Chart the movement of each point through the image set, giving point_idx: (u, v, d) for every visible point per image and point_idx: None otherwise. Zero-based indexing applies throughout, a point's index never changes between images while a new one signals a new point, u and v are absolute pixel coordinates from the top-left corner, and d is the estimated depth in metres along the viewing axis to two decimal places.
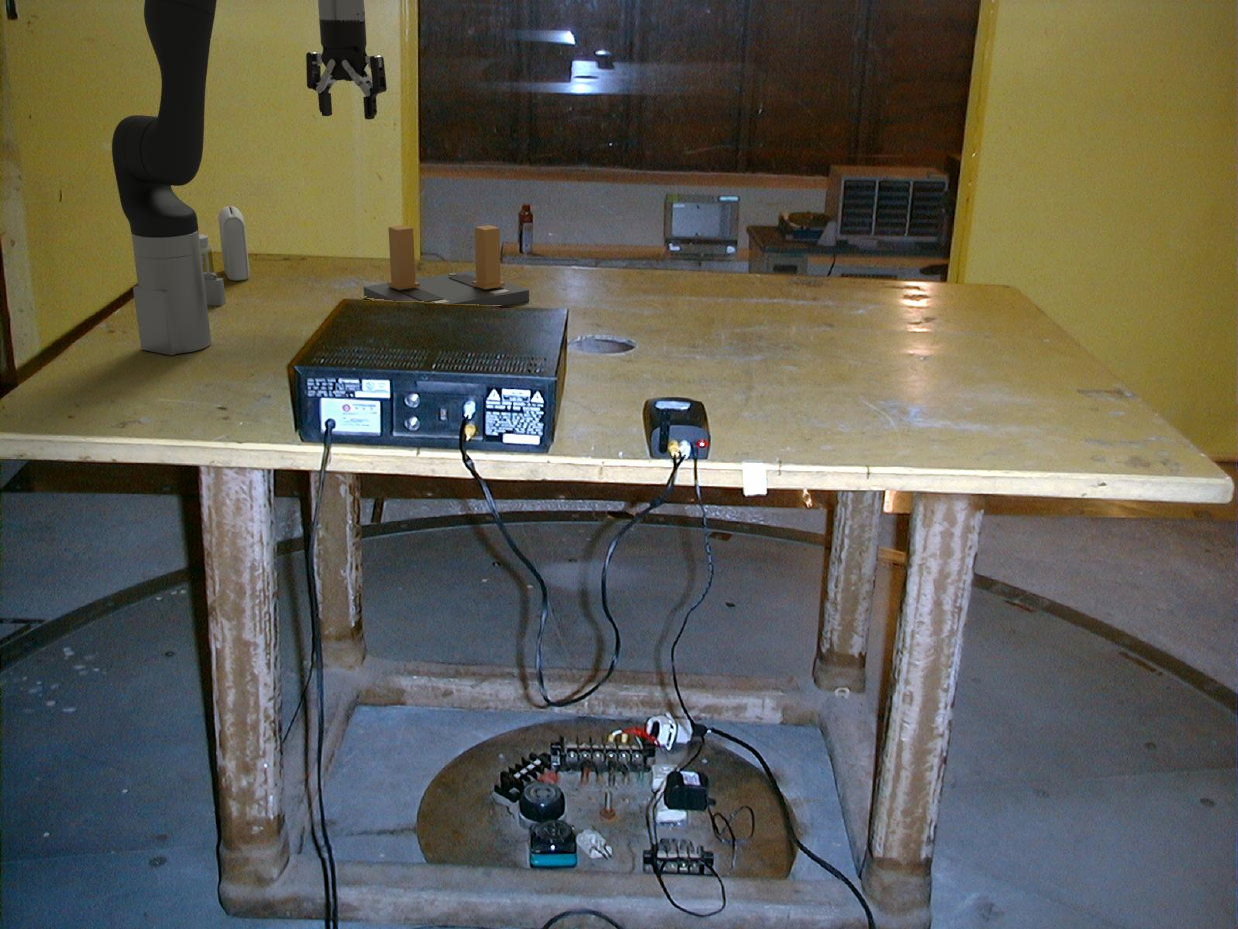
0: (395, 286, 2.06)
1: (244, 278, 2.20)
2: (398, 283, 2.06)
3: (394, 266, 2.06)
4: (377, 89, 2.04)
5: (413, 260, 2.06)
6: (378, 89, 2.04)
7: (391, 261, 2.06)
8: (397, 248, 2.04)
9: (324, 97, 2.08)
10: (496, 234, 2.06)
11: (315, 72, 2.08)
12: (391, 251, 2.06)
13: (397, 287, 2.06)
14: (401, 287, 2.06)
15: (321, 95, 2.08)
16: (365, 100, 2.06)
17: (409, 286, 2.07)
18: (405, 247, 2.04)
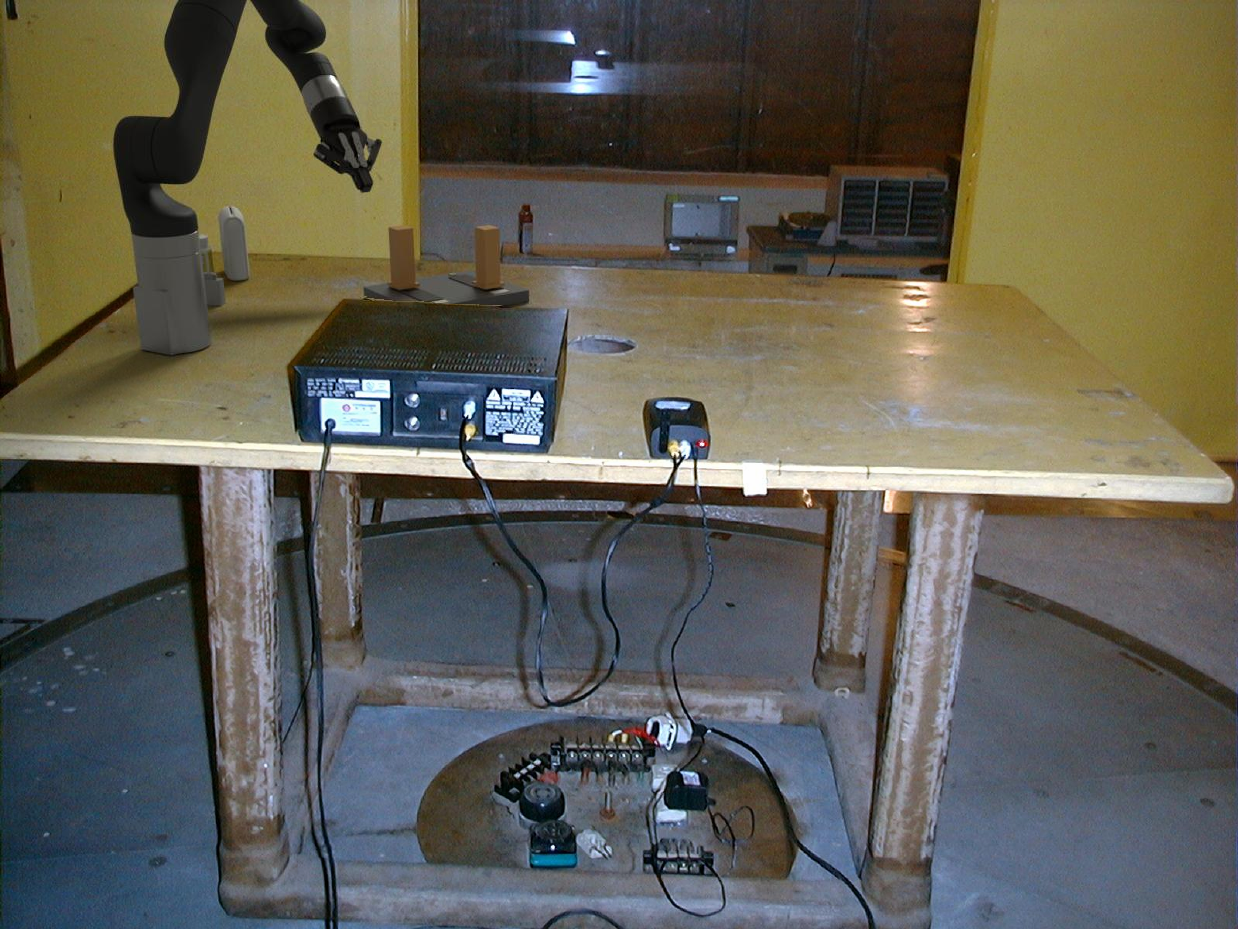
0: (395, 286, 2.06)
1: (244, 278, 2.20)
2: (398, 283, 2.06)
3: (394, 266, 2.06)
4: (373, 160, 2.13)
5: (413, 260, 2.06)
6: (374, 161, 2.13)
7: (391, 261, 2.06)
8: (397, 248, 2.04)
9: None
10: (496, 234, 2.06)
11: None
12: (391, 251, 2.06)
13: (397, 287, 2.06)
14: (401, 287, 2.06)
15: (359, 169, 2.11)
16: (364, 170, 2.11)
17: (409, 286, 2.07)
18: (405, 247, 2.04)
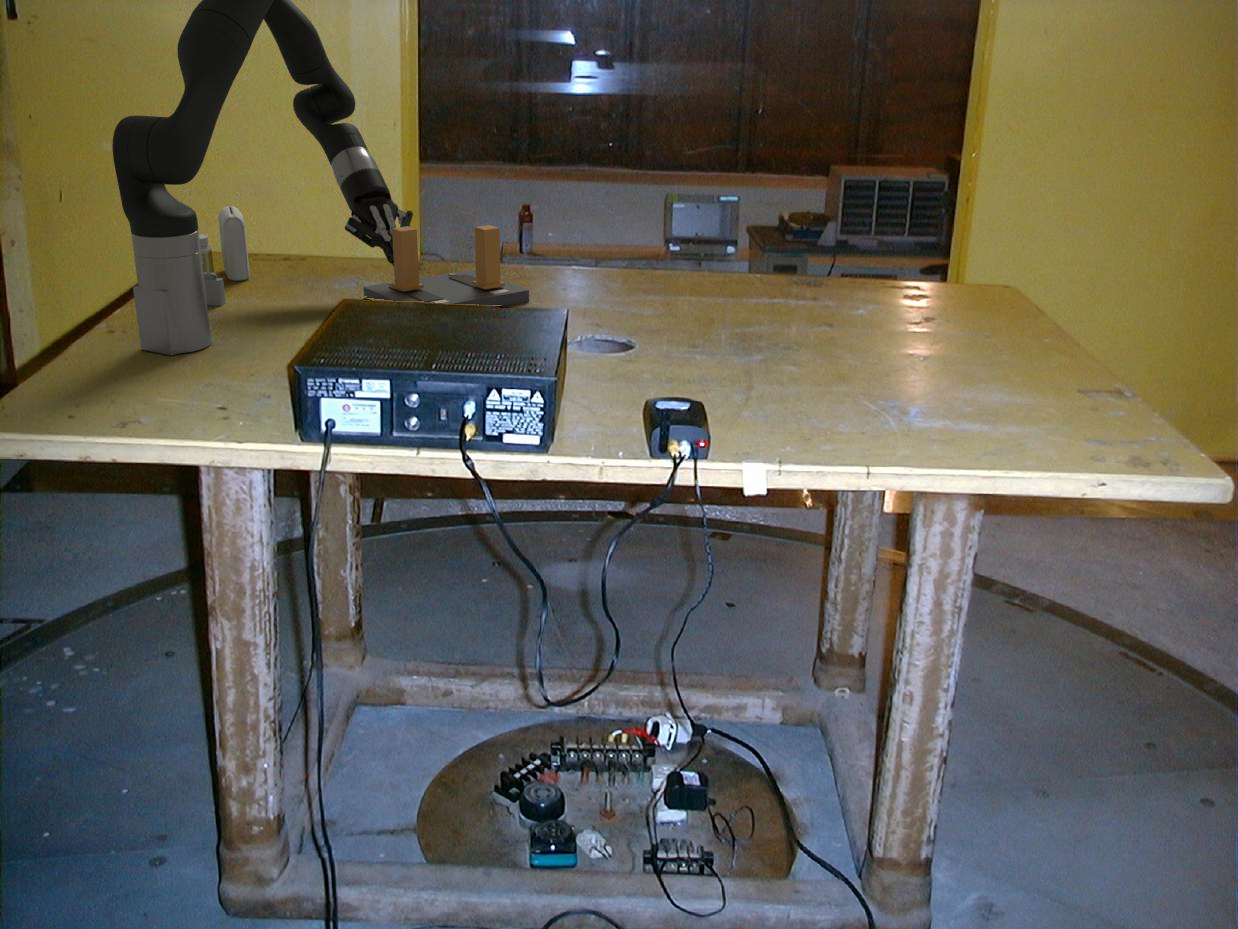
0: (399, 287, 2.05)
1: (244, 278, 2.20)
2: (402, 284, 2.05)
3: (398, 267, 2.05)
4: None
5: (417, 261, 2.05)
6: None
7: (395, 262, 2.06)
8: (401, 249, 2.03)
9: None
10: (496, 234, 2.06)
11: None
12: (395, 252, 2.05)
13: (401, 288, 2.05)
14: (405, 288, 2.05)
15: (391, 243, 2.07)
16: None
17: (413, 287, 2.06)
18: (409, 248, 2.04)
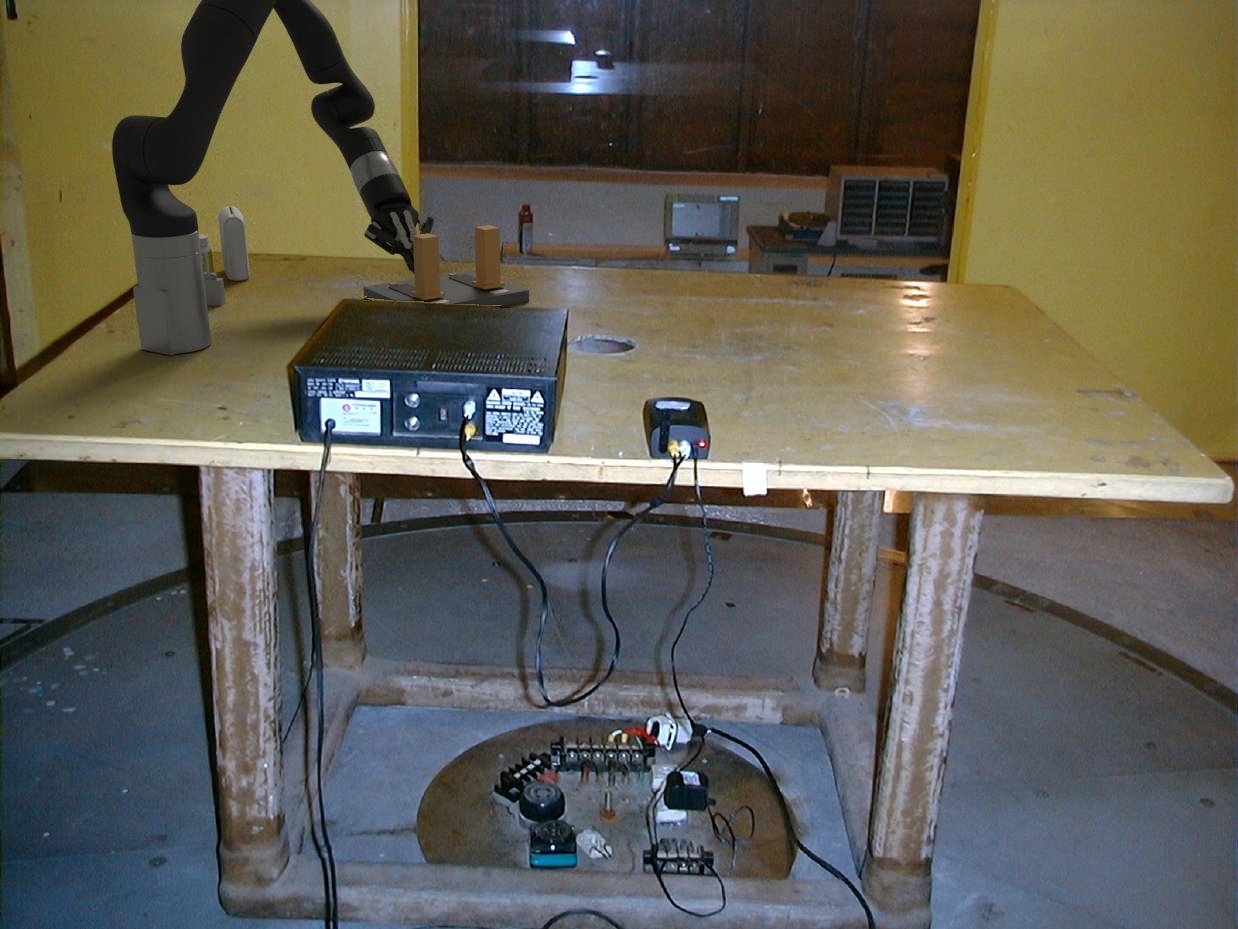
0: (420, 296, 2.01)
1: (244, 278, 2.20)
2: (423, 293, 2.01)
3: (419, 275, 2.00)
4: None
5: (438, 269, 2.00)
6: None
7: (415, 270, 2.01)
8: (422, 257, 1.98)
9: None
10: (496, 234, 2.06)
11: None
12: (415, 260, 2.00)
13: (422, 297, 2.00)
14: (426, 297, 2.00)
15: (411, 250, 2.02)
16: None
17: (434, 296, 2.01)
18: (430, 256, 1.99)
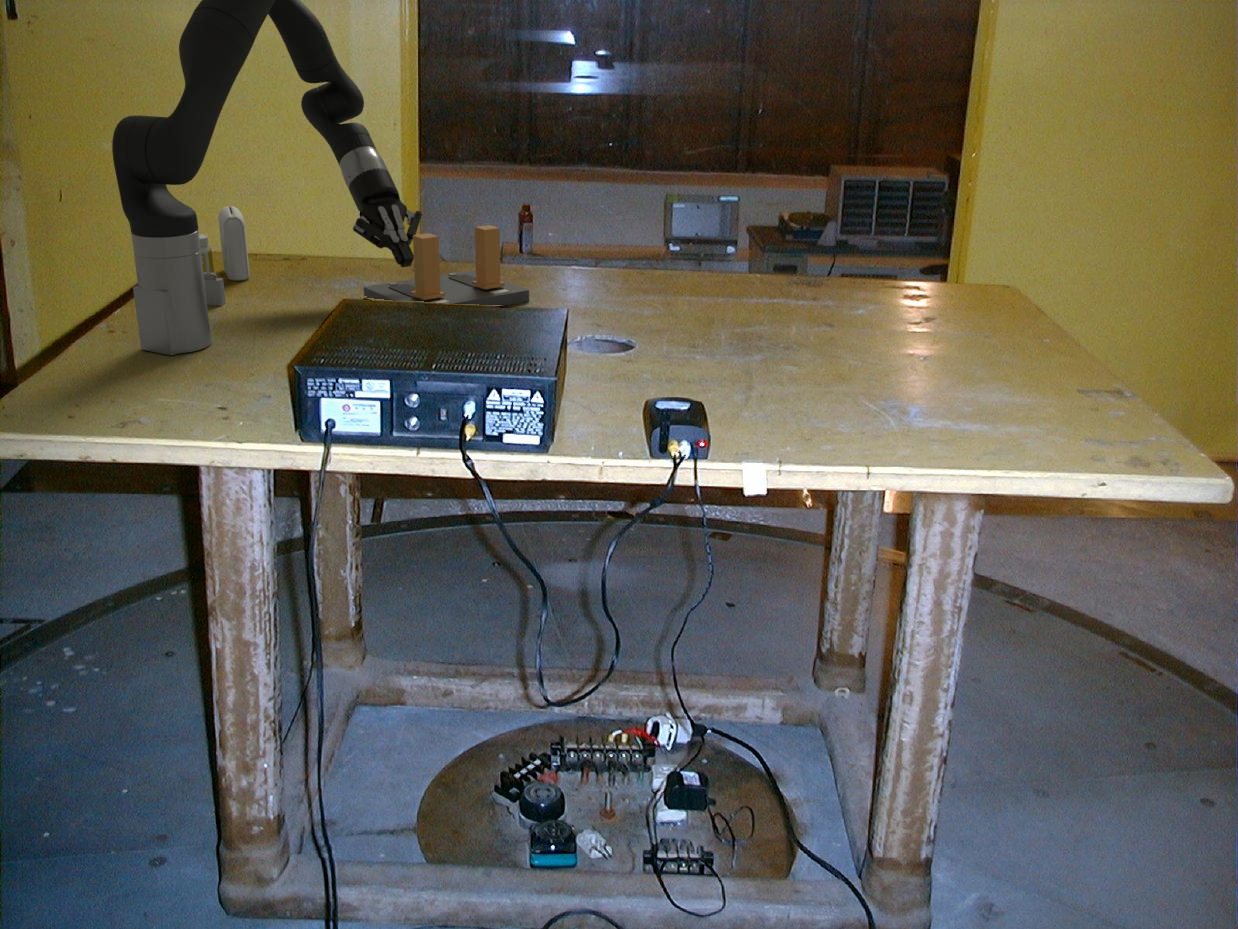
0: (419, 296, 2.01)
1: (244, 278, 2.20)
2: (423, 293, 2.01)
3: (418, 275, 2.00)
4: (413, 233, 2.07)
5: (438, 269, 2.00)
6: None
7: (415, 270, 2.01)
8: (422, 257, 1.98)
9: None
10: (496, 234, 2.06)
11: None
12: (415, 260, 2.00)
13: (422, 297, 2.00)
14: (426, 297, 2.00)
15: (399, 243, 2.05)
16: (404, 244, 2.06)
17: (434, 296, 2.01)
18: (430, 256, 1.99)
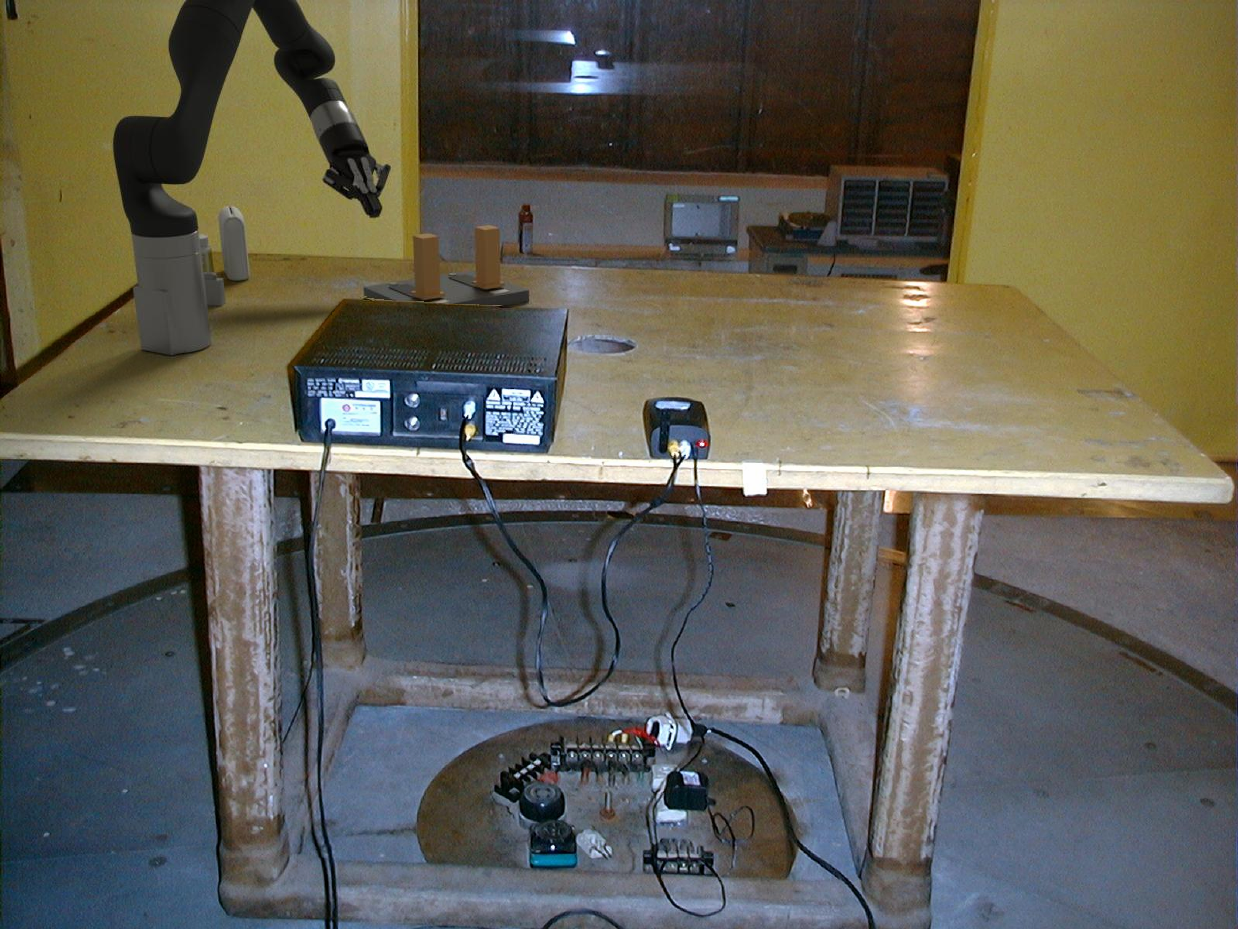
0: (419, 296, 2.01)
1: (244, 278, 2.20)
2: (423, 293, 2.01)
3: (418, 275, 2.00)
4: (382, 185, 2.12)
5: (438, 269, 2.00)
6: (383, 187, 2.12)
7: (415, 270, 2.01)
8: (422, 257, 1.98)
9: None
10: (496, 234, 2.06)
11: None
12: (415, 260, 2.00)
13: (422, 297, 2.00)
14: (426, 297, 2.00)
15: (368, 195, 2.10)
16: (373, 196, 2.10)
17: (434, 296, 2.01)
18: (430, 256, 1.99)
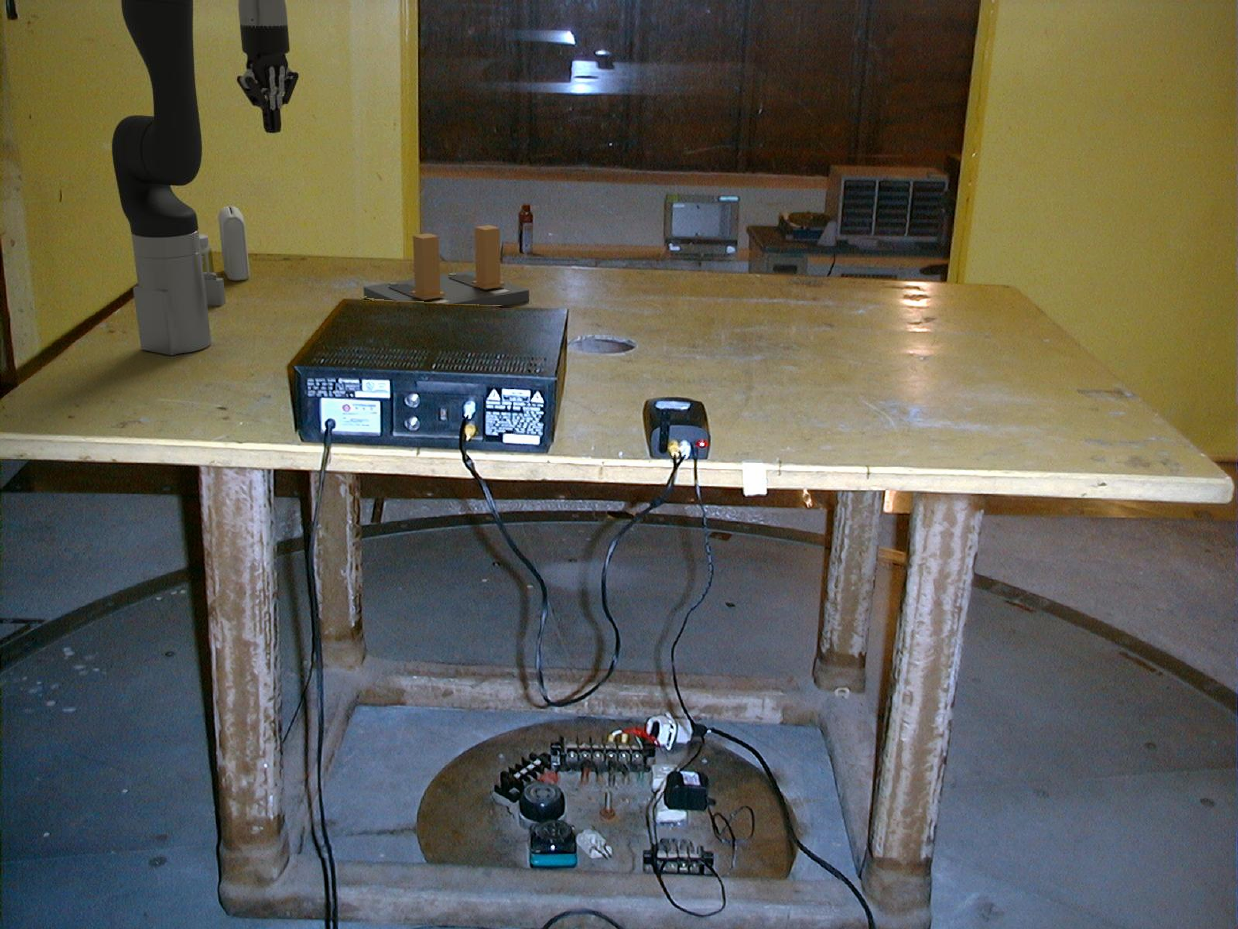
0: (419, 296, 2.01)
1: (244, 278, 2.20)
2: (423, 293, 2.01)
3: (418, 275, 2.00)
4: (288, 101, 2.04)
5: (438, 269, 2.00)
6: (287, 102, 2.04)
7: (415, 270, 2.01)
8: (422, 257, 1.98)
9: None
10: (496, 234, 2.06)
11: None
12: (415, 260, 2.00)
13: (422, 297, 2.00)
14: (426, 297, 2.00)
15: (274, 111, 2.02)
16: (278, 113, 2.03)
17: (434, 296, 2.01)
18: (430, 256, 1.99)
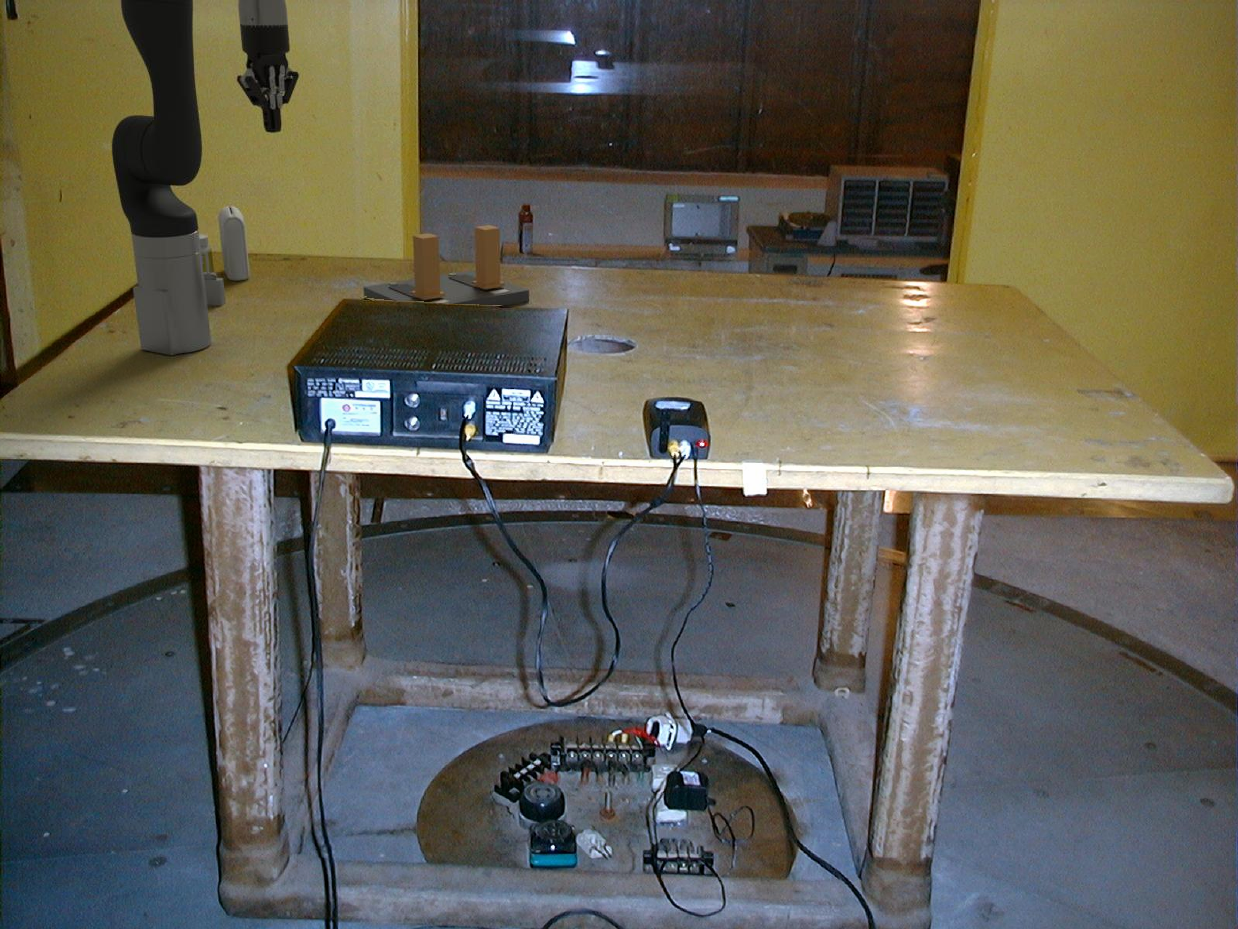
0: (419, 296, 2.01)
1: (244, 278, 2.20)
2: (423, 293, 2.01)
3: (418, 275, 2.00)
4: (288, 100, 2.04)
5: (438, 269, 2.00)
6: (288, 101, 2.04)
7: (415, 270, 2.01)
8: (422, 257, 1.98)
9: None
10: (496, 234, 2.06)
11: None
12: (415, 260, 2.00)
13: (422, 297, 2.00)
14: (426, 297, 2.00)
15: (274, 111, 2.02)
16: (278, 112, 2.03)
17: (434, 296, 2.01)
18: (430, 256, 1.99)
